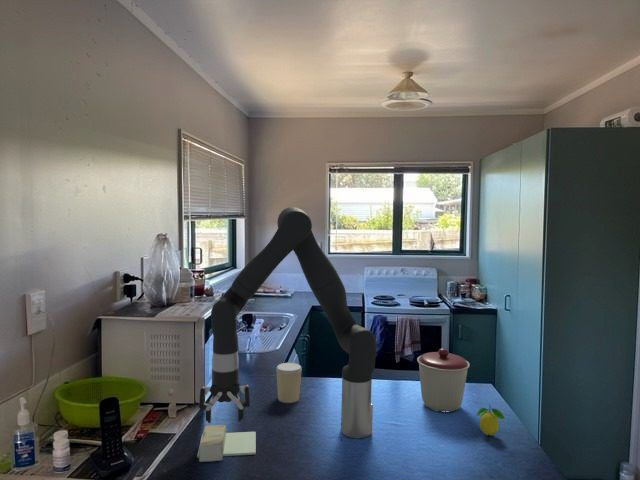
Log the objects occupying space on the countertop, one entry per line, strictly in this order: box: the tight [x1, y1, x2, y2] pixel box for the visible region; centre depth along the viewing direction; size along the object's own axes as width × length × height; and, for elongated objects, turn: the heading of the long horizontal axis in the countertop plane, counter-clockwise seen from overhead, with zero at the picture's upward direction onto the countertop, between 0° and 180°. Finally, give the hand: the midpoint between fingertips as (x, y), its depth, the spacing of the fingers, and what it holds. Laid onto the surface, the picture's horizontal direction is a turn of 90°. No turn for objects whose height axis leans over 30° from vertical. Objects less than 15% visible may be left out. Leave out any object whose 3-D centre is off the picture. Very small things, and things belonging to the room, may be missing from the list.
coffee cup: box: [275, 362, 303, 404], centre depth 162 cm, size 9×9×12 cm
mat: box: [196, 431, 257, 459], centre depth 129 cm, size 16×12×1 cm
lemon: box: [476, 404, 506, 436], centre depth 137 cm, size 7×6×10 cm
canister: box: [416, 347, 471, 413], centre depth 158 cm, size 18×18×21 cm
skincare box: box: [198, 424, 227, 463], centre depth 125 cm, size 6×4×12 cm
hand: (224, 421), depth 128 cm, fingers open, 8 cm apart
